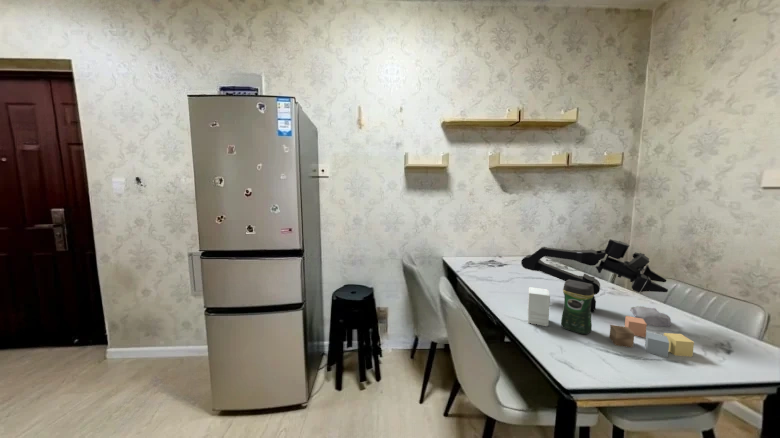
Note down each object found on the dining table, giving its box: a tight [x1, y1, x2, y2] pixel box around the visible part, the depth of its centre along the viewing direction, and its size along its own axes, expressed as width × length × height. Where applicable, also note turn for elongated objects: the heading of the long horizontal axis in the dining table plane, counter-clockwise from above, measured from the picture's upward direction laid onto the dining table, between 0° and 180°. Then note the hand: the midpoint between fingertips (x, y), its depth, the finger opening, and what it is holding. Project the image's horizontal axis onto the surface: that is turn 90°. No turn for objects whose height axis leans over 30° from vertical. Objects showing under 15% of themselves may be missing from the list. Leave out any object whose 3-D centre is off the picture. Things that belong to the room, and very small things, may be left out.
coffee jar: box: [560, 279, 595, 335], centre depth 108 cm, size 10×8×19 cm
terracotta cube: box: [624, 315, 648, 338], centre depth 106 cm, size 5×5×5 cm
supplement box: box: [526, 286, 551, 327], centre depth 115 cm, size 7×7×13 cm
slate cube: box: [644, 331, 669, 358], centre depth 95 cm, size 5×5×5 cm
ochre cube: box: [663, 332, 695, 358], centre depth 94 cm, size 5×5×5 cm
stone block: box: [629, 305, 672, 327], centre depth 117 cm, size 12×5×10 cm
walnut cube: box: [609, 324, 635, 349], centre depth 100 cm, size 5×5×5 cm
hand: (666, 285), depth 110 cm, fingers open, 9 cm apart
